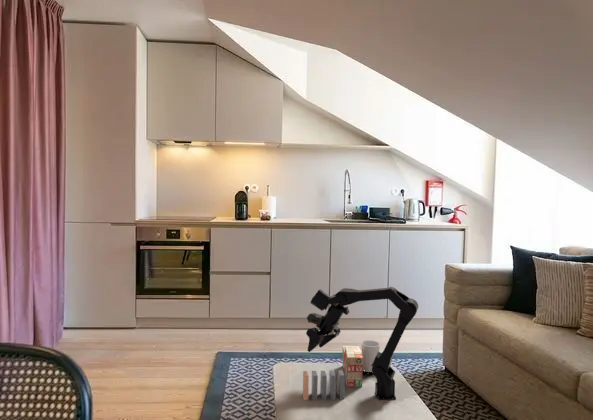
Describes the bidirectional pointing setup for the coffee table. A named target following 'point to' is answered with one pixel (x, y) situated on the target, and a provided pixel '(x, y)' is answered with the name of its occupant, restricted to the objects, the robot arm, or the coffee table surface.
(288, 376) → the coffee table surface
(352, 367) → the stack of blocks
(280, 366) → the coffee table surface
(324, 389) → the domino
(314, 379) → the domino
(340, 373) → the domino
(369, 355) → the cup
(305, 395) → the domino
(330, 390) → the domino
